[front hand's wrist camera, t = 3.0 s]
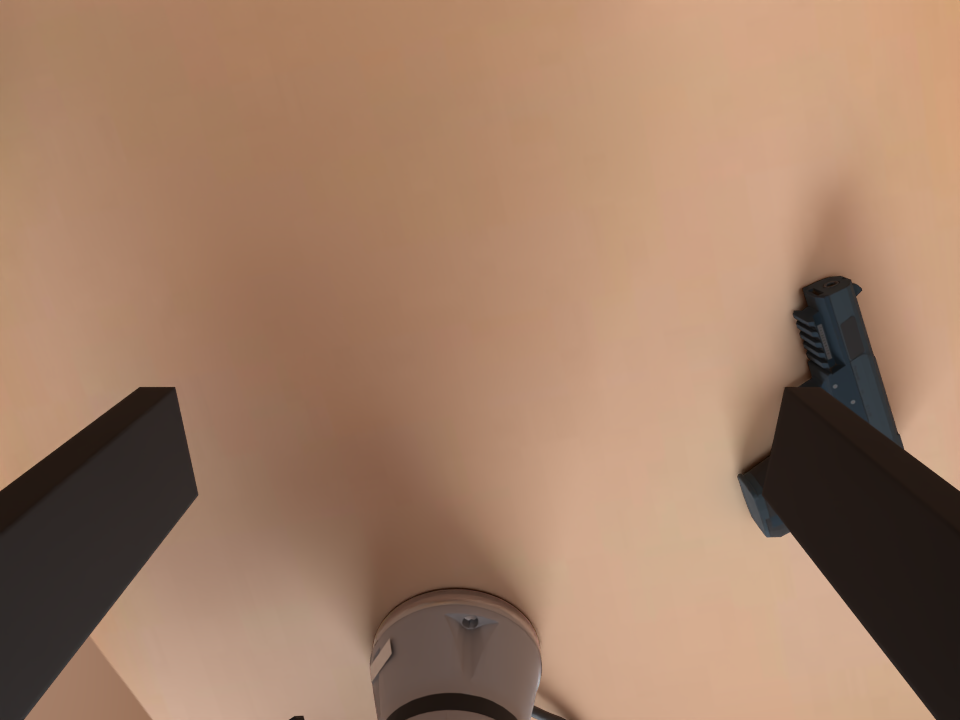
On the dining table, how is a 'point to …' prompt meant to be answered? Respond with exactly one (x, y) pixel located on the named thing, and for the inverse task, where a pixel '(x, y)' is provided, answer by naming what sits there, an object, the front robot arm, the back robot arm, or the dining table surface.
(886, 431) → the handgun
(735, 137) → the dining table surface
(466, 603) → the back robot arm
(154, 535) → the front robot arm
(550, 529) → the dining table surface
